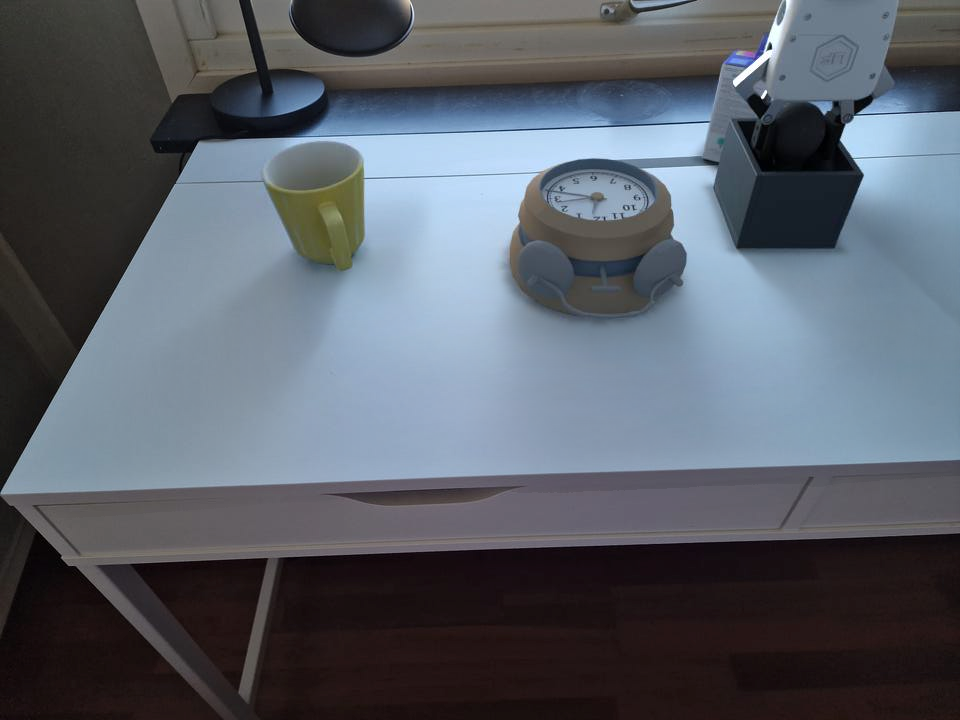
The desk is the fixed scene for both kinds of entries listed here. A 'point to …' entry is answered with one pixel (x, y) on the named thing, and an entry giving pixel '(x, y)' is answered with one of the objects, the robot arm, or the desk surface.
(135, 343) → the desk surface
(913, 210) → the desk surface
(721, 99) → the ink cartridge box
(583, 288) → the alarm clock
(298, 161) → the mug
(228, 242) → the desk surface
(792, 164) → the light bulb
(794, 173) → the trash bin
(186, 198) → the desk surface
